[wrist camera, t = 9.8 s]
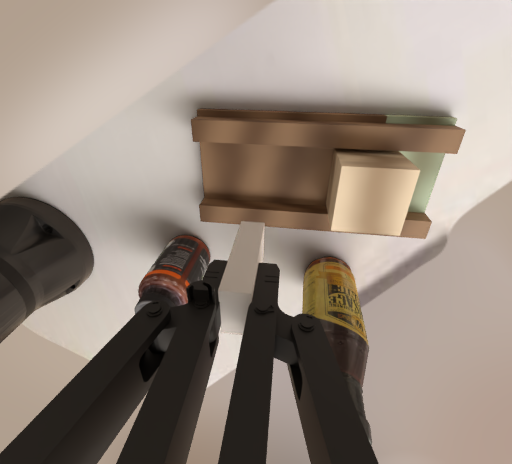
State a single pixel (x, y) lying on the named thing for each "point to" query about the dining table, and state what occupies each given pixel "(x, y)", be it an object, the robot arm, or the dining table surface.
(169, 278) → the supplement bottle
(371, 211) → the block
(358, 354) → the sauce bottle
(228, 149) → the walnut chute
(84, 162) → the dining table surface
